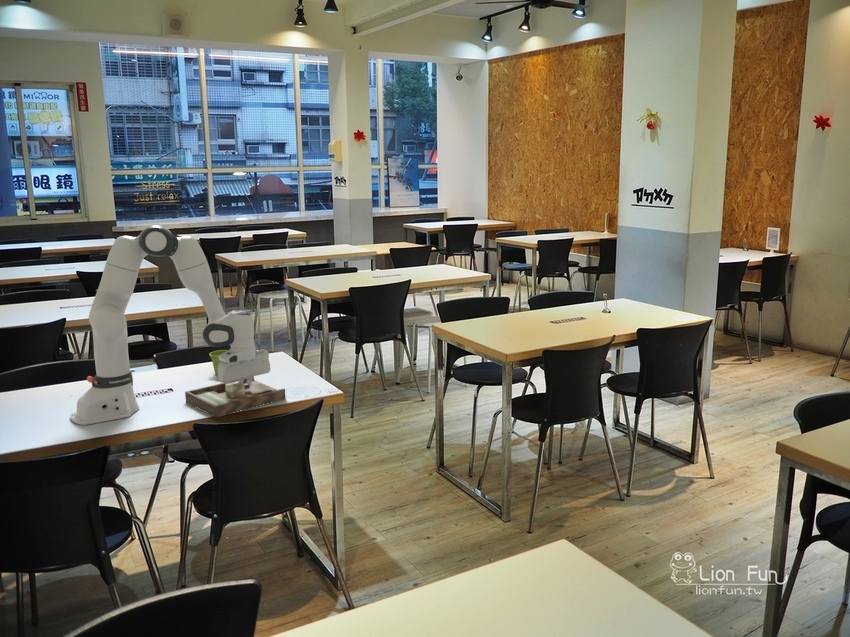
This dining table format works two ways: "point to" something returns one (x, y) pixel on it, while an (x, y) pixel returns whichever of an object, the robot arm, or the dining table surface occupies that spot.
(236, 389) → the cream block
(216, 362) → the plant pot
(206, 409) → the box
